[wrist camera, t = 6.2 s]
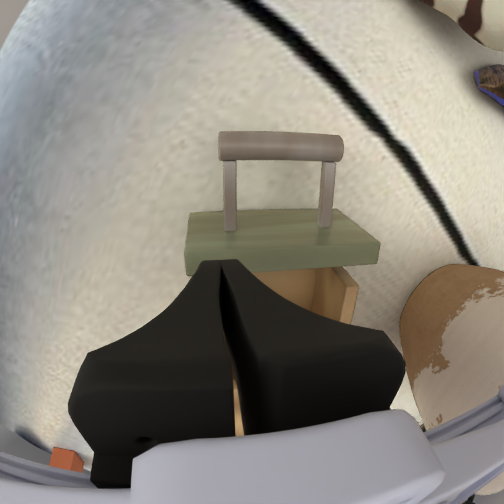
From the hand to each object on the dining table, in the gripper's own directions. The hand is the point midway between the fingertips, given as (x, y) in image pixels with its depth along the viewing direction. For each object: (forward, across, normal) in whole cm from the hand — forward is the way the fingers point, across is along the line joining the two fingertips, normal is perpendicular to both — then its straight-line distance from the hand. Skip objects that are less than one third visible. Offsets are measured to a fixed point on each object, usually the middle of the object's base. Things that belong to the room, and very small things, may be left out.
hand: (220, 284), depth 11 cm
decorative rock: (+7, -27, -10) cm, 30 cm away
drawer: (+8, -3, +3) cm, 10 cm away
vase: (+9, -21, +10) cm, 25 cm away
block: (+10, +23, +33) cm, 41 cm away
